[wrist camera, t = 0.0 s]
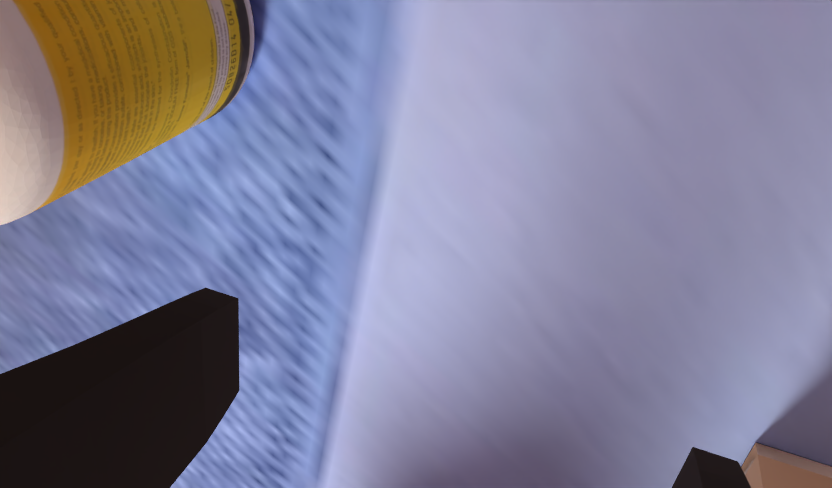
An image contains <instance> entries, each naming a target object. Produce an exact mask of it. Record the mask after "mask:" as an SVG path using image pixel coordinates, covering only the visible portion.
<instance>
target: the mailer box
mask: <svg viewBox="0 0 832 488" xmlns="http://www.w3.org/2000/svg"><path fill="white" fill-rule="evenodd" d="M741 468H742V470H743V472H744V474H745V476H746V478H747V480H748V482H749V484H750V486H751V488H832V467H831V466H828V465H824V464H821V463H818V462H815V461H812V460H809V459H806V458H802V457H799V456H796V455H793V454H790V453H787V452H784V451H781V450H777V449H774V448H771V447H768V446H765V445H762V444H759V443H755V445H754V446H753V448H752V450H751V451H750V453H749V455H748V457H747V458H746V460H745V462H744V463H743V465H742V467H741Z"/></svg>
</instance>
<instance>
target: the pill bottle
mask: <svg viewBox="0 0 832 488" xmlns="http://www.w3.org/2000/svg"><path fill="white" fill-rule="evenodd" d="M253 52H254V23H253V15H252V10H251V5H250V1H249V0H0V225H3V224H6V223H9V222H11V221H14V220H16V219H19V218H21V217H23V216H25V215H28V214H30V213H31V212H33V211H35V210H37V209H39V208H41V207H43V206H45V205H47V204H49V203H51V202H53V201H54V200H56V199H58V198H60V197H62V196H64V195H66V194H68V193H70V192H72V191H74V190H76V189H77V188H79V187H81V186H83V185H85V184H87V183H89V182H91V181H93V180H95V179H96V178H98V177H100V176H102V175H104V174H106V173H108V172H110V171H112V170H114V169H116V168H117V167H119V166H121V165H123V164H125V163H127V162H129V161H131V160H133V159H134V158H136V157H138V156H140V155H142V154H144V153H146V152H147V151H149V150H151V149H153V148H155V147H157V146H158V145H160V144H162V143H164V142H166V141H168V140H170V139H171V138H173V137H175V136H177V135H179V134H181V133H182V132H184V131H186V130H188V129H190V128H192V127H194V126H196V125H197V124H199V123H201V122H203V121H205V120H207V119H209V118H210V117H212V116H214V115H215V114H217V113H218V112H220V111H221V110H222V109H224V108H225V107H226V106H227V105H228V104H229V103H230V102H231V101H232V100H233V99H234V98H235V97H236V95H237V94H238V93H239V91H240V89H241V88H242V86H243V84H244V82H245V80H246V78H247V75H248V73H249V69H250V66H251V63H252V57H253Z"/></svg>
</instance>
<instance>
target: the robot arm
mask: <svg viewBox="0 0 832 488" xmlns="http://www.w3.org/2000/svg"><path fill="white" fill-rule="evenodd" d="M238 392H239V319H238V298H235V297H232V296H229V295H226V294H223V293H220V292H217V291H214V290H211V289H208V288H204V289H201V290H199V291H196V292H194V293H191V294H189V295H187V296H184V297H182V298H180V299H177V300H175V301H173V302H170V303H168V304H166V305H164V306H162V307H159V308H157V309H155V310H153V311H150V312H148V313H146V314H144V315H141V316H139V317H137V318H135V319H133V320H130V321H128V322H126V323H124V324H121V325H119V326H117V327H114V328H112V329H110V330H108V331H105V332H103V333H101V334H98V335H96V336H94V337H92V338H89V339H87V340H85V341H82V342H80V343H78V344H75V345H73V346H71V347H68V348H65V349H63V350H60V351H58V352H55V353H53V354H50V355H48V356H45V357H43V358H40V359H38V360H35V361H33V362H30V363H28V364H25V365H22V366H20V367H17V368H15V369H12V370H10V371H7V372H5V373H2V374H0V488H170V487H171V485H172V484H173V483H174V482H175V481H176V479H177V478H178V477H179V476H180V474H181V473H182V472H183V471H184V470H185V468H186V467H187V466H188V465H189V463H190V462H191V461H192V460H193V459H194V457H195V456H196V455H197V454H198V452H199V451H200V450H201V449H202V447H203V446H204V445H205V444H206V442H207V441H208V439H209V438H210V436H211V435H212V433H213V432H214V430H215V429H216V427H217V425H218V424H219V422H220V421H221V419H222V418H223V416H224V415H225V413H226V411H227V410H228V408H229V406H230V405H231V403H232V401H233V400H234V398H235V397H236V395H237V393H238ZM672 488H751V486H750V484H749V482H748V480H747V478H746V476H745V474H744V472H743V470H742V468H741V466H740V464H739V463H738V462H737V461H734V460H731V459H728V458H725V457H722V456H719V455H716V454H713V453H710V452H707V451H704V450H701V449H697V448H694V447H692V449H691V451H690V453H689V455H688V457H687V459H686V461H685V463H684V465H683V467H682V469H681V471H680V473H679V475H678V477H677V479H676V481H675V483H674V484H673V486H672Z"/></svg>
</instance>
